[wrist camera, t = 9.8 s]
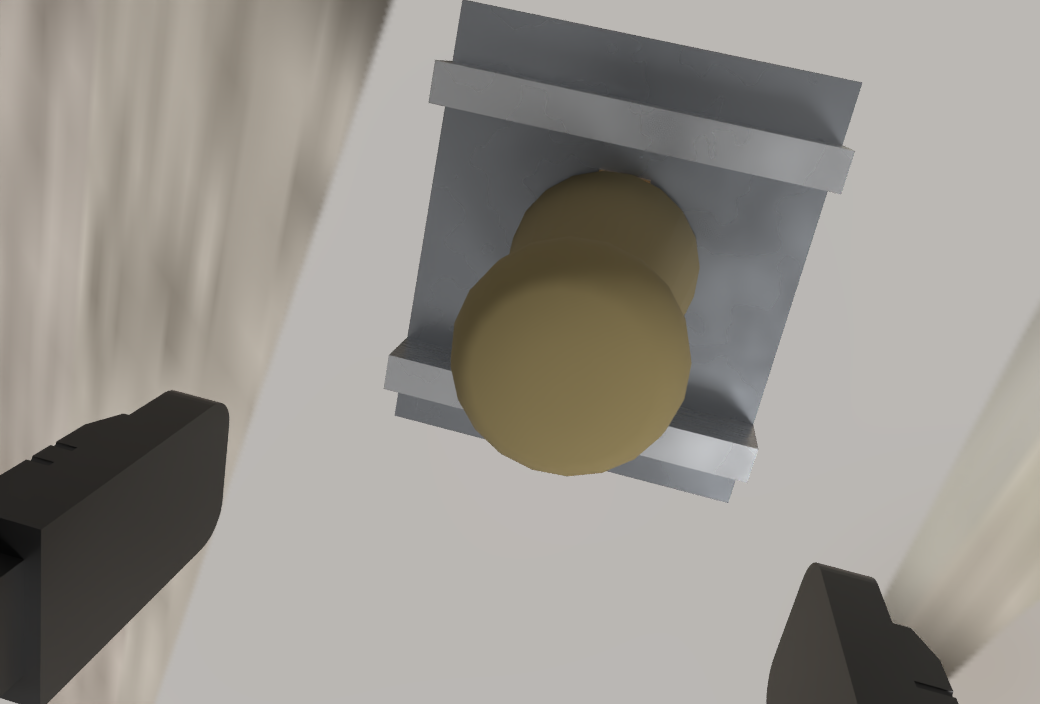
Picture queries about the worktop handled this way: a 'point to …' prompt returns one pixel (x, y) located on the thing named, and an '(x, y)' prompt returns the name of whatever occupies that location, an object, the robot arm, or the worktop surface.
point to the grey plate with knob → (653, 158)
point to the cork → (581, 327)
